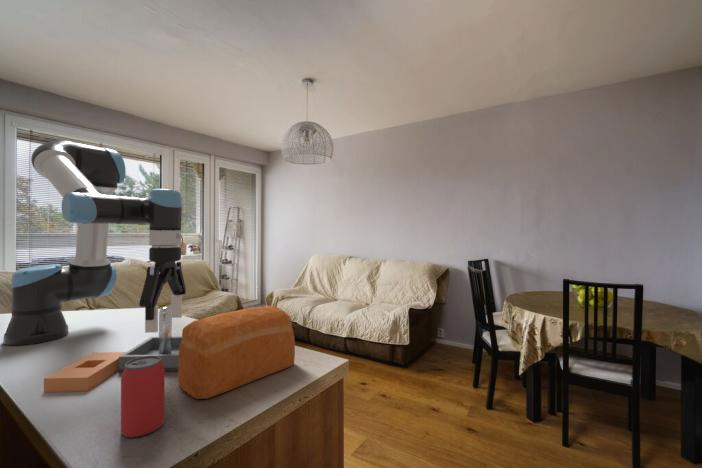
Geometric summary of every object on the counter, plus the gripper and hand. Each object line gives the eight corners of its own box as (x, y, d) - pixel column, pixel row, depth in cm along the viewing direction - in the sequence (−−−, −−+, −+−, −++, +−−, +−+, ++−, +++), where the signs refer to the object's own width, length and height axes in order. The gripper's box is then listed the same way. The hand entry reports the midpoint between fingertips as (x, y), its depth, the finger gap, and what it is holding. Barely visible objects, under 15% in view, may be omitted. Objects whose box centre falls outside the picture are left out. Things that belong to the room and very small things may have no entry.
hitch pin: (162, 354, 89) (162, 305, 89) (173, 354, 90) (173, 305, 89) (156, 358, 86) (157, 308, 86) (168, 358, 87) (168, 308, 86)
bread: (299, 365, 85) (300, 306, 85) (200, 405, 66) (200, 328, 66) (269, 352, 94) (269, 298, 94) (173, 383, 75) (173, 316, 75)
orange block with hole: (93, 363, 85) (93, 352, 85) (129, 363, 86) (129, 351, 86) (43, 392, 70) (43, 378, 70) (87, 390, 71) (87, 377, 71)
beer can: (134, 418, 61) (134, 354, 61) (171, 416, 61) (171, 353, 61) (111, 440, 54) (112, 369, 54) (152, 438, 55) (153, 368, 55)
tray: (151, 350, 95) (151, 336, 95) (203, 349, 96) (203, 336, 96) (118, 372, 80) (118, 356, 80) (181, 371, 81) (181, 355, 81)
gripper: (155, 249, 76) (155, 339, 76) (197, 244, 100) (197, 312, 101) (122, 249, 75) (121, 339, 75) (172, 244, 100) (172, 312, 100)
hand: (164, 324), depth 88 cm, fingers open, 13 cm apart
